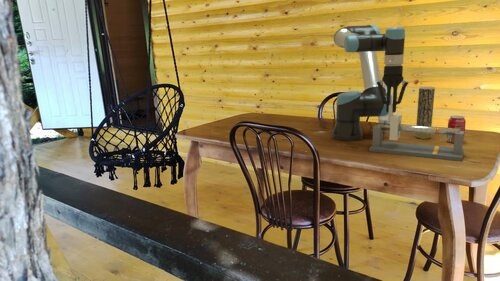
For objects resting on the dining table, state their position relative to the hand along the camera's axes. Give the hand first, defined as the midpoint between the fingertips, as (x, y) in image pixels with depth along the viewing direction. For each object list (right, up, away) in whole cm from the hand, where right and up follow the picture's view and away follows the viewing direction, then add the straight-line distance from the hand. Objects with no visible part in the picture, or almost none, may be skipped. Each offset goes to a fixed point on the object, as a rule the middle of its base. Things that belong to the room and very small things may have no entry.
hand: (390, 119), depth 159 cm
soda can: (+34, -10, +11) cm, 37 cm away
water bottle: (+18, +1, +55) cm, 58 cm away
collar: (+2, -8, +1) cm, 8 cm away
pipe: (+10, -6, -4) cm, 12 cm away
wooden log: (+24, -8, +20) cm, 32 cm away
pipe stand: (+10, -14, -2) cm, 17 cm away
